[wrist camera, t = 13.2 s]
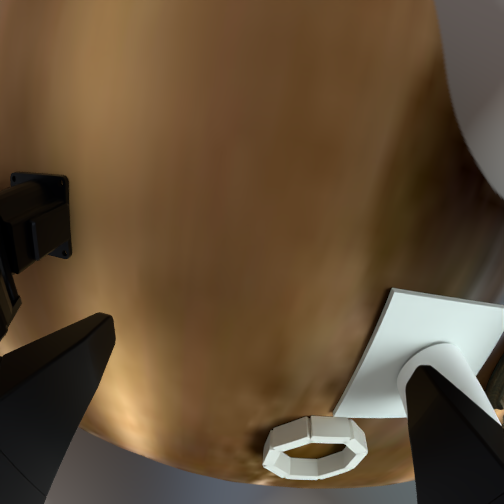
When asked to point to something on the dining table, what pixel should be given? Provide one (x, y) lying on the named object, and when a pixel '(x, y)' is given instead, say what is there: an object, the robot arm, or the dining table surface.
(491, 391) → the owl figurine
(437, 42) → the dining table surface
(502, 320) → the mat
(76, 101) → the dining table surface
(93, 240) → the dining table surface
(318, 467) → the ring
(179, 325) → the dining table surface
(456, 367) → the can
